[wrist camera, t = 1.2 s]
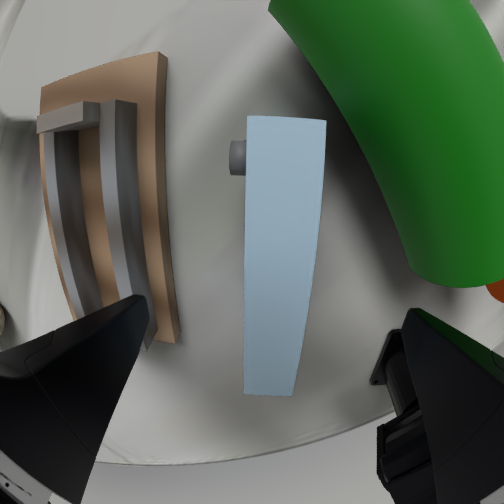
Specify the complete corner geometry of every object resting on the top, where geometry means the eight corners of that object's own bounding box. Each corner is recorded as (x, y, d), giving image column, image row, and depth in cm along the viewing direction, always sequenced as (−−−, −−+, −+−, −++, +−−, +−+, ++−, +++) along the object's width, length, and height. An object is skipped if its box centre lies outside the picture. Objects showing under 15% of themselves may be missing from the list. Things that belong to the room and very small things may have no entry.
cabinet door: (287, 307, 20) (292, 396, 12) (243, 305, 20) (227, 392, 12) (300, 130, 15) (326, 120, 7) (245, 127, 15) (221, 115, 8)
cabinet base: (180, 331, 21) (158, 381, 16) (83, 315, 22) (51, 351, 17) (167, 57, 13) (125, 31, 8) (53, 88, 14) (3, 86, 9)
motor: (260, 35, 12) (402, 298, 18) (287, -64, 3) (474, 372, 10) (382, -3, 11) (485, 229, 17) (454, -57, 2) (561, 268, 8)
